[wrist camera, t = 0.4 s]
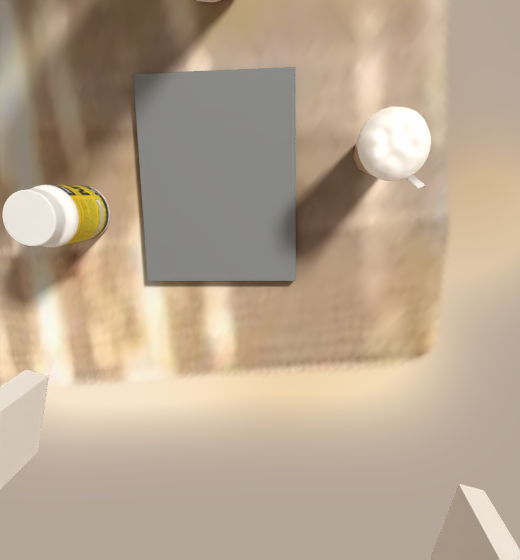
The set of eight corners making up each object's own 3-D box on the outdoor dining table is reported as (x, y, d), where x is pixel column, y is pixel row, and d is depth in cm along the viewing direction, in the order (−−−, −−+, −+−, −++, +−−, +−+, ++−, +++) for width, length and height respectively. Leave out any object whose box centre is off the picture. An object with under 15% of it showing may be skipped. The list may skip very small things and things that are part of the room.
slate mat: (136, 76, 37) (133, 74, 36) (295, 69, 35) (295, 67, 35) (150, 279, 40) (147, 280, 39) (295, 278, 39) (295, 280, 38)
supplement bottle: (110, 185, 39) (59, 184, 30) (113, 239, 40) (65, 252, 31) (57, 185, 39) (-8, 184, 31) (61, 238, 40) (0, 251, 32)
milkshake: (363, 201, 37) (387, 205, 27) (335, 142, 36) (349, 124, 26) (415, 175, 36) (458, 169, 26) (387, 114, 35) (420, 85, 26)
